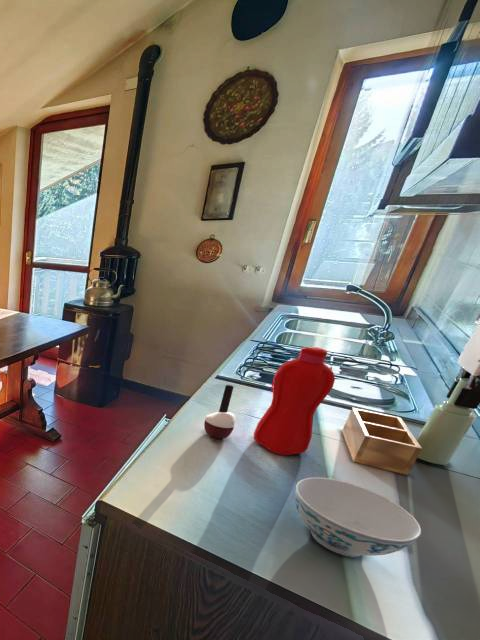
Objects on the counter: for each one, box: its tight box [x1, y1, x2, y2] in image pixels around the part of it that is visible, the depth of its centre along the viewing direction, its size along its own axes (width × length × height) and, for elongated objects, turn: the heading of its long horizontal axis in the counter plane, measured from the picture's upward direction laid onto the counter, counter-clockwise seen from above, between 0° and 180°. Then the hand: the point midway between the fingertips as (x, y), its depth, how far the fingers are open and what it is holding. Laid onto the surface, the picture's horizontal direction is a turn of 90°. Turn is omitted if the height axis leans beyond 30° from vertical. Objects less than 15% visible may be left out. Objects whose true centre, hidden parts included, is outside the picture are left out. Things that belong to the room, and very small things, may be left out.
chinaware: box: [294, 477, 422, 558], centre depth 65 cm, size 15×15×8 cm
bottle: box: [416, 378, 479, 466], centre depth 85 cm, size 6×6×19 cm
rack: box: [341, 407, 422, 476], centre depth 91 cm, size 9×17×7 cm, turn 145°
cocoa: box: [203, 384, 236, 440], centre depth 96 cm, size 10×6×12 cm, turn 122°
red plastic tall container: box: [253, 346, 336, 456], centre depth 90 cm, size 9×11×25 cm
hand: (460, 402), depth 84 cm, fingers closed on bottle, 3 cm apart
